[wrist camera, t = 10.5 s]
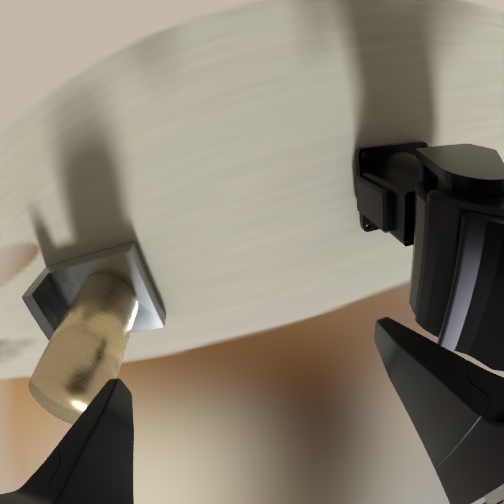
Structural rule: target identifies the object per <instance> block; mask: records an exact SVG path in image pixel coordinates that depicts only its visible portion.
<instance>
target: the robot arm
mask: <svg viewBox="0 0 504 504" xmlns="http://www.w3.org/2000/svg"><path fill="white" fill-rule="evenodd" d="M421 146H423V148H421ZM362 152H364V153H365V156H364V157H363V158H362V157H361V154H362ZM356 163H357V174H358V176H357V178H356V193H357V208H358V211H359V212H360V222H361V228H362V229H363V230H364V231H366V232H369V231H373V230H378V229H381V230H382V231H383V232H385V233H387V232H389V233H391V234H392V235H393V236H394V237H395V238H397V239H398V240H399V241H400V242H401V243H403V244H404V245H405V246H410V245H414V247H413V260H412V271H411V281H410V289H409V303H410V305H411V308H412V310H413V312H414V314H415V315H416V316H415V320H416V322H417V323H418V324H419V325H420V326H421V327H422V328H423V329H425V330H426V331H428V332H430V333H431V334H433V335H434V336H437V337H439V339H438V342H437V343H435V342H433V341H431V340H429V339H427V338H426V337H424V336H422V335H420V334H418V333H416V332H415V331H413V330H411V329H409V328H407V327H405V326H404V325H402V324H400V323H398V322H396V321H394V320H392V319H390V318H389V317H384V318H382V319H378V320H377V321H376V323H375V334H374V340H375V344H376V346H377V348H378V351H379V353H380V356H381V358H382V361H383V363H384V365H385V368H386V371H387V373H388V376H389V378H390V380H391V382H392V384H393V386H394V388H395V389H396V392H397V393H398V395H399V397H400V399H401V401H402V403H403V404H404V407H405V409H406V411H407V413H408V414H409V416H410V418H411V420H412V422H413V424H414V426H415V428H416V430H417V432H418V434H419V436H420V438H421V440H422V442H423V444H424V446H425V449H426V451H427V453H428V455H429V457H430V459H431V461H432V463H433V466H434V468H435V470H436V472H437V475H438V476H439V479H440V481H441V484H442V486H443V488H444V490H445V493H446V495H447V497H448V500H449V502H450V504H471V503H473V502H475V501H477V500H478V499H480V498H482V497H484V498H485V500H486V501H485V502H484V503H483V504H504V378H503V377H501V376H498V375H496V374H494V373H492V372H489V371H487V370H485V369H483V368H481V367H479V366H477V365H475V364H473V363H472V362H470V361H468V360H465V359H464V358H462V357H460V356H459V355H457V354H455V353H453V352H451V351H450V350H455V351H458V352H461V353H464V354H467V355H469V356H471V357H473V358H475V359H477V360H478V361H480V362H481V363H483V364H485V365H486V366H487V367H489V368H491V369H493V370H499V371H504V163H503V161H502V159H501V158H500V156H499V154H498V152H497V151H496V150H494V149H490V148H486V147H481V146H477V145H472V144H458V145H446V146H435V147H428V145H427V144H426V143H425V142H422V141H416V142H405V143H395V144H386V145H377V146H369V147H361V148H359V149H358V150H357V151H356ZM367 223H369V225H368V226H367V227H366V224H367ZM133 441H134V426H133V408H132V395H131V392H130V391H129V389H128V388H127V387H126V386H125V384H124V383H123V382H122V381H121V380H120V379H119V378H116V379H109V380H108V381H107V382H106V384H105V385H104V386H103V387H102V389H101V390H100V391H99V392H98V394H97V395H96V396H95V397H94V399H93V400H92V401H91V402H90V404H89V405H88V406H87V408H86V409H85V410H84V411H83V413H82V414H81V415H80V417H79V418H78V419H77V420H76V422H75V423H74V424H73V426H72V427H71V428H70V429H69V431H68V432H67V433H66V435H65V436H64V437H63V439H62V440H61V441H60V443H59V444H58V446H57V447H56V448H55V449H54V450H53V452H52V453H51V454H50V455H49V457H48V458H47V459H46V461H45V462H44V463H43V464H42V465H41V466H40V468H39V469H38V470H37V471H36V472H35V473H34V474H33V475H32V476H31V477H30V479H29V480H28V481H27V482H26V483H25V484H24V485H23V486H22V487H21V488H20V489H18V490H16V491H14V492H10V493H6V494H0V504H134V502H133V445H134V443H133Z"/></svg>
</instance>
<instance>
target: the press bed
mask: <svg viewBox="0 0 504 504" xmlns="http://www.w3.org/2000/svg"><path fill="white" fill-rule="evenodd" d="M99 273H105V274H111V275H114V276H116V277H118V278H120V279H122V280H123V281H125V282H126V283H127V284H128V285H129V286H130V287H131V288H132V290H133V291H134V293H135V295H136V297H137V301H138V310H137V313H136V316H135V319H134V323H133V326H132V329H131V332H130V333H132V332H138V331H144V330H150V329H156V328H161V327H164V324H165V319H166V314H165V312H164V310H163V307H162V305H161V303H160V301H159V298H158V296H157V294H156V292H155V289H154V287H153V285H152V282H151V280H150V278H149V275H148V273H147V270H146V268H145V266H144V263H143V261H142V258H141V256H140V253H139V251H138V248H137V245H136V243H135V242H131V243H127V244H124V245H120V246H117V247H113V248H109V249H106V250H102V251H99V252H95V253H92V254H88V255H85V256H81V257H78V258H74V259H71V260H68V261H64V262H61V263H58V264H54V265H51V266H48V267H46V268H45V269H44V270H43V271H42V272H41V274H40V275H39V276H38V277H37V278H36V280H35V281H34V282H33V283H32V285H31V286H30V287H29V288H28V290H27V291H26V292H25V294H24V295H23V296H22V299H23V300H24V302H25V304H26V305H27V307H28V309H29V310H30V312H31V314H32V315H33V317H34V319H35V320H36V322H37V323H38V325H39V326H40V328H41V329H42V331H43V332H44V334H45V335H46V337H47V338H48V340H49V341H50V340H51V338H52V336H53V334H54V332H55V330H56V329H57V327H58V325H59V323H60V322H61V320H62V318H63V316H64V315H65V313H66V311H67V310H68V308H69V306H70V305H71V303H72V301H73V300H74V298H75V296H76V295H77V293H78V292H79V290H80V288H81V287H82V285H83V284H84V282H85V281H86V280H87V279H88V278H89V277H90V276H92V275H95V274H99Z"/></svg>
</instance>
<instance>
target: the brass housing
mask: <svg viewBox="0 0 504 504" xmlns="http://www.w3.org/2000/svg"><path fill="white" fill-rule="evenodd" d="M137 310H138V301H137V297H136V295H135V293H134V291H133V290H132V288H131V287H130V286H129V285H128V284H127V283H126V282H125V281H123V280H122V279H120V278H118V277H116V276H114V275H111V274H105V273H99V274H95V275H92V276H90V277H89V278H88V279H87V280H86V281H85V282H84V284H83V285H82V287H81V288H80V290H79V292H78V293H77V295H76V296H75V298H74V300H73V301H72V303H71V305H70V306H69V308H68V310H67V311H66V313H65V315H64V316H63V318H62V320H61V322H60V323H59V325H58V327H57V329H56V330H55V332H54V334H53V336H52V338H51V340H50V341H49V343H48V345H47V347H46V349H45V351H44V353H43V355H42V357H41V359H40V361H39V363H38V365H37V367H36V369H35V371H34V373H33V375H32V377H31V379H30V381H29V389H30V391H31V394H32V395H33V397H34V398H35V400H36V401H37V402H38V403H39V404H40V405H41V406H42V407H43V408H44V409H46V410H47V411H48V412H49V413H51V414H53V415H54V416H56V417H57V418H59V419H61V420H63V421H65V422H68V423H70V424H74V423H75V422H76V420H77V419H78V418H79V417H80V415H81V414H82V413H83V411H84V410H85V409H86V408H87V406H88V405H89V404H90V402H91V401H92V400H93V399H94V397H95V396H96V395H97V394H98V392H99V391H100V390H101V389H102V387H103V386H104V385H105V384H106V382H107V381H108V380H109V379H116V378H117V377H118V373H119V369H120V366H121V362H122V359H123V355H124V352H125V349H126V345H127V342H128V339H129V335H130V332H131V329H132V326H133V323H134V319H135V316H136V313H137Z"/></svg>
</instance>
